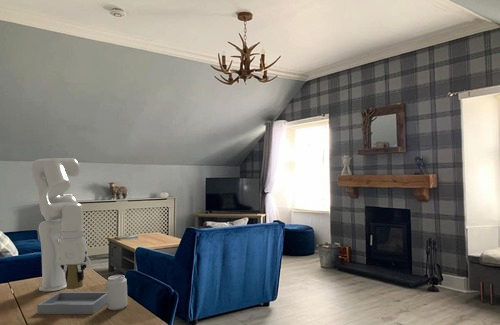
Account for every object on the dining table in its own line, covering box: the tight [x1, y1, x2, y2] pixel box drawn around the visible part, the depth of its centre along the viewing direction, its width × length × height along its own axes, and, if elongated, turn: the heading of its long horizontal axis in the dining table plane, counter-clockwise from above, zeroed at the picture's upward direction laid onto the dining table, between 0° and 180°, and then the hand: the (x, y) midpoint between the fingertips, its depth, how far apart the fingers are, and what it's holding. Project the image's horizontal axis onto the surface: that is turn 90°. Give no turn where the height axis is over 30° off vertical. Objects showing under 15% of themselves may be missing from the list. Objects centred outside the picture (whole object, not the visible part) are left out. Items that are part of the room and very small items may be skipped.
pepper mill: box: [65, 264, 84, 290], centre depth 150 cm, size 6×6×11 cm
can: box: [105, 274, 128, 311], centre depth 148 cm, size 8×8×12 cm
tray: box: [37, 291, 107, 315], centre depth 150 cm, size 22×14×4 cm, turn 85°
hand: (74, 280), depth 150 cm, fingers closed on pepper mill, 4 cm apart
